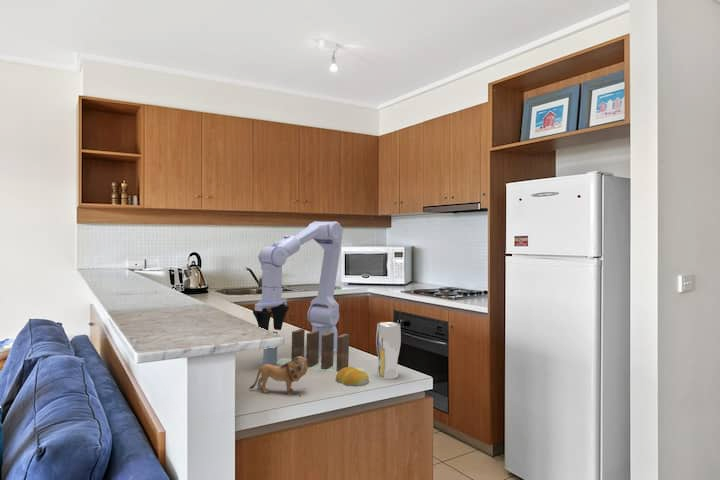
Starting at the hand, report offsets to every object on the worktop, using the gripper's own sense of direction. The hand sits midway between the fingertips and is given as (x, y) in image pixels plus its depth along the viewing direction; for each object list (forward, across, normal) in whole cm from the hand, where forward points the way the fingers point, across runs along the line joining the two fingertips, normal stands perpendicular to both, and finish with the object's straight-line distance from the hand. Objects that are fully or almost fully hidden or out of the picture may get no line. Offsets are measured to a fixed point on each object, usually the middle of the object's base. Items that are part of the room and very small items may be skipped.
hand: (270, 331), depth 147 cm
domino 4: (+10, -6, +16) cm, 20 cm away
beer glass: (+11, -6, +35) cm, 37 cm away
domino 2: (+10, -6, +6) cm, 13 cm away
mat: (+10, -6, +13) cm, 18 cm away
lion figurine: (+11, +18, +14) cm, 25 cm away
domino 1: (+10, 0, 0) cm, 10 cm away
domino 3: (+10, -6, +11) cm, 16 cm away
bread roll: (+11, +3, +28) cm, 30 cm away
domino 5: (+10, -6, +21) cm, 24 cm away
